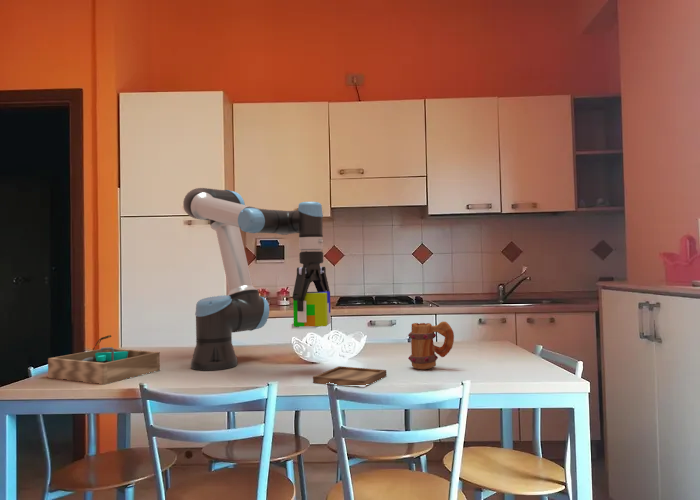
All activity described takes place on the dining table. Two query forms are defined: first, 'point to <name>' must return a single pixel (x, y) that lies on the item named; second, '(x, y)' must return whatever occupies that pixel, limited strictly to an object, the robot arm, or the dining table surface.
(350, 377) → the square wooden tray
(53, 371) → the open wooden box
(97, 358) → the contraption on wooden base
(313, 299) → the puzzle toy
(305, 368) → the dining table surface
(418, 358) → the mug
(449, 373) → the dining table surface
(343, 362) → the dining table surface
